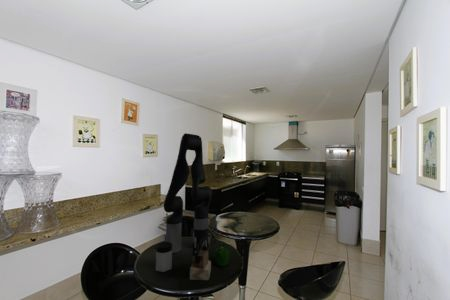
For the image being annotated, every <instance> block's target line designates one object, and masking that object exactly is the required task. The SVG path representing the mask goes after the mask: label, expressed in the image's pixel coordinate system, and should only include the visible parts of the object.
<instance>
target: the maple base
mask: <svg viewBox="0 0 450 300" xmlns="http://www.w3.org/2000/svg"><path fill="white" fill-rule="evenodd" d="M211 272H212V260H208V264H207V265H206V267H205V268H204V269H201V268H195V267H192V265H191V266H190V268H189V280H194V281H195V280H197V281H199V280H200V281H209V279H210V275H211Z"/></svg>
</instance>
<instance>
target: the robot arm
mask: <svg viewBox="0 0 450 300" xmlns="http://www.w3.org/2000/svg"><path fill="white" fill-rule="evenodd" d="M187 151H193V152H195V153H194V155H195V157H194V158H193V161H192V163H191V166H189V163H188V161H187ZM203 156H204V155H203V139H202V137H201V136H200V135H198V134H194V133H186V132H185V133H183V134H182V136H181V138H180V143H179V149H178V154H177V159H176V162H175V166H174V169H173V174H172V177H171V181H170V184H169V187H168V191H167V193H166V195H165V198H164V201H163V209H164V211H165V212H166V213H167V214H168V213H171V215H169V216H167V217H166V219H165V220H166V222H165V223H166V225H165V227H166V228H165V229H166V230H165V231H166V232H165V235H164V242H170V243H172V254H177V253H179V252H180V251H181V250H182V219H183V214H184V213H183V211H184V201H183V198H182V197H181V196H180V195H177V194H178V193H179V192H180V191H181V190H182V189H183V188H184V186H185V185H186V184H187V183H188V180H189V179H188V178H189V175H191V180H192V181H191V184H192V185H191V190H190V191H191V192H190V197H191V199H192V201H194V202H202V203H200V204H197V205H196V206H194V215H193V216H194V218H193V233H194V237H195V238H196V243H194V242H193V243H192V255H193V256H195V263H197V264H199V263H200V252H201V251H202V250H204V251H207V250H206V248H207V245H208V235H209V232H210V227H209V226H210V223H209V221H210V220H209V208H210V204H211V200H212V198H213V191H212V188H211V187H210V186H208V185H206V186H199V185H202V184H204V183H205V182H206V179H207V178H206V174H205V169H204V161H203ZM206 241H207V242H206ZM199 248H200V249H199ZM198 252H199V253H198Z"/></svg>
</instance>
